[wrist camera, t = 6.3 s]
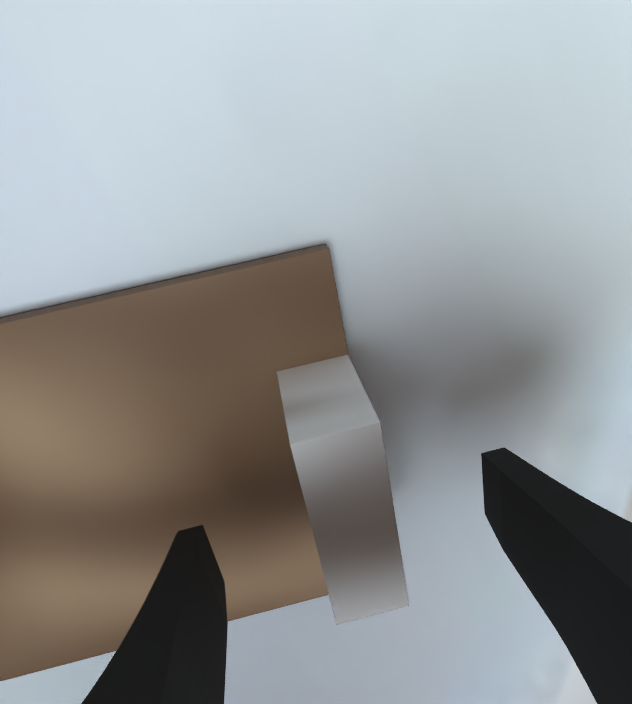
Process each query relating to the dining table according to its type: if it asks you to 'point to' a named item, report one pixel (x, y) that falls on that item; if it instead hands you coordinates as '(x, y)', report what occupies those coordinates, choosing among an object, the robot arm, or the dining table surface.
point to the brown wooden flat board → (187, 456)
